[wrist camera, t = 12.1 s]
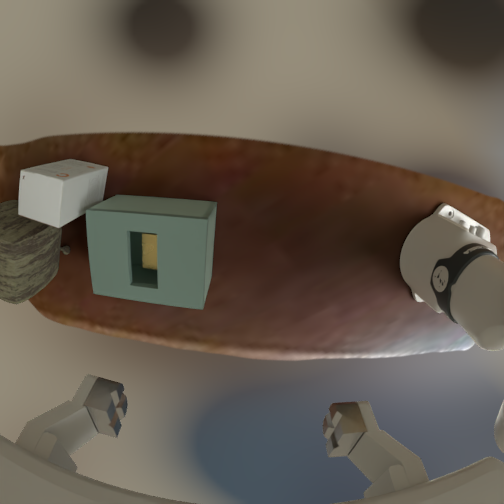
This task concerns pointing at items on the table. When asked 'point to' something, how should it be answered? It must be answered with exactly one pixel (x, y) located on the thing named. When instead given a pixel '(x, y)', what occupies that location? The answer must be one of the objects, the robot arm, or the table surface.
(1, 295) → the tabletop clock
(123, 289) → the coin box
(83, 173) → the small box
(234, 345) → the table surface
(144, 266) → the wooden yellow block
